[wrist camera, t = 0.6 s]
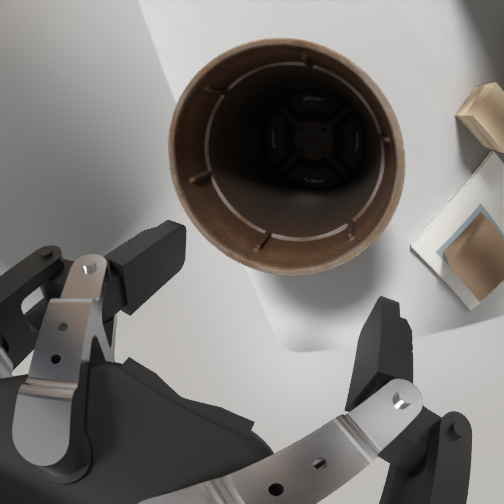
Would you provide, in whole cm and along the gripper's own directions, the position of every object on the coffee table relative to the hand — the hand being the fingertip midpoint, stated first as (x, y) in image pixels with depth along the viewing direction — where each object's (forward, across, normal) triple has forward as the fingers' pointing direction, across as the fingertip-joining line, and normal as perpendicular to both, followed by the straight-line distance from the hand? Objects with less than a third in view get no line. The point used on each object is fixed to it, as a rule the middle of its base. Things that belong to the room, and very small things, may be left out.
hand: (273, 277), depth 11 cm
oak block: (+25, -15, -12) cm, 31 cm away
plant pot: (+24, +3, -2) cm, 25 cm away
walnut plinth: (+23, -20, +3) cm, 31 cm away
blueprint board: (+24, -21, +2) cm, 32 cm away
